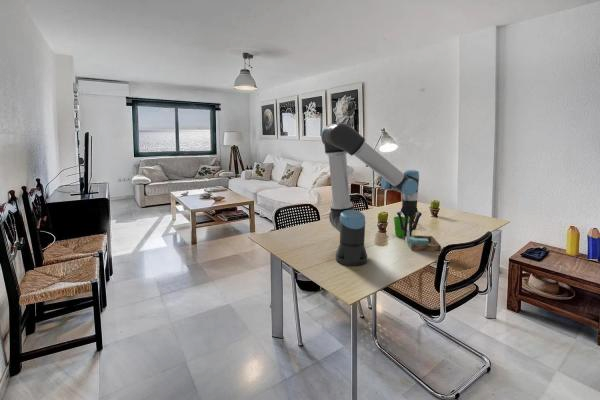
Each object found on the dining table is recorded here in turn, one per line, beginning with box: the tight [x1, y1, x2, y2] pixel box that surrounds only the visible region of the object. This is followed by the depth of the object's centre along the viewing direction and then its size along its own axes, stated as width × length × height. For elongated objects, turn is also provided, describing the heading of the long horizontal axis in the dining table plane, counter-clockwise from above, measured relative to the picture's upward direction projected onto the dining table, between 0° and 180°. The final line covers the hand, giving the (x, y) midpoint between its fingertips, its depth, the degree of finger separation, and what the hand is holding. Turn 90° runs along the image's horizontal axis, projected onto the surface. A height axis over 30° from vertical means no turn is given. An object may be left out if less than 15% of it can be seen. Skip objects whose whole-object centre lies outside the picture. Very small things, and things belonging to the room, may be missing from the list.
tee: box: [406, 236, 430, 249], centre depth 176 cm, size 10×10×4 cm
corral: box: [410, 234, 442, 253], centre depth 176 cm, size 14×16×3 cm
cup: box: [392, 215, 409, 239], centre depth 191 cm, size 9×9×11 cm
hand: (407, 242), depth 177 cm, fingers closed
